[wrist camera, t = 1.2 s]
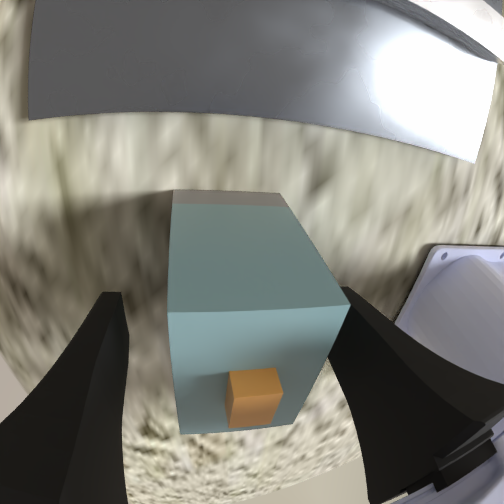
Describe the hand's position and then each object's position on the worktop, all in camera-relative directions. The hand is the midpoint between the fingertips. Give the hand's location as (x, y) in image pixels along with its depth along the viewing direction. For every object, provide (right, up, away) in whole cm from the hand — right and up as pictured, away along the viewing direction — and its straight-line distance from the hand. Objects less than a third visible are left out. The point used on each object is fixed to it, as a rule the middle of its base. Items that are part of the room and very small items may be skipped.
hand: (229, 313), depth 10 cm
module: (0, +2, +3) cm, 3 cm away
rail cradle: (+3, +12, -3) cm, 13 cm away
